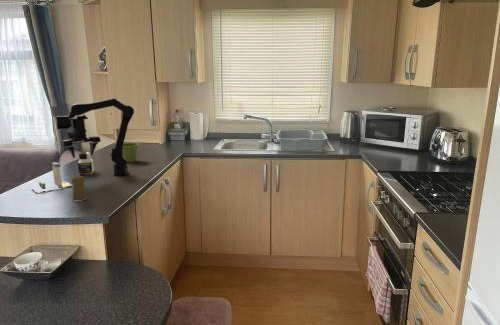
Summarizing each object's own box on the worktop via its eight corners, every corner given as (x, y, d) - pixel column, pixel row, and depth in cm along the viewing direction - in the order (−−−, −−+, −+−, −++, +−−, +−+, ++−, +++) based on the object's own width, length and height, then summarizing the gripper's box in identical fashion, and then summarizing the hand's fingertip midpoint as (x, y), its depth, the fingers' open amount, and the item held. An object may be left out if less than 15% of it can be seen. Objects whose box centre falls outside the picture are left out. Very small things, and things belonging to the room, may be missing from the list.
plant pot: (116, 162, 236) (115, 145, 233) (130, 158, 246) (128, 142, 244) (130, 164, 231) (128, 146, 228) (143, 160, 241) (142, 143, 238)
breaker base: (65, 182, 191) (65, 175, 190) (72, 186, 184) (71, 179, 183) (31, 189, 181) (30, 181, 180) (37, 193, 174) (35, 186, 173)
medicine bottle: (79, 174, 207) (76, 154, 204) (81, 171, 213) (78, 151, 211) (92, 174, 208) (90, 153, 206) (94, 170, 215) (92, 151, 212)
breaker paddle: (59, 183, 187) (56, 162, 184) (62, 185, 183) (59, 163, 181) (54, 184, 185) (51, 162, 183) (57, 186, 182) (54, 164, 179)
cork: (89, 197, 168) (87, 174, 165) (84, 202, 162) (81, 178, 159) (76, 197, 167) (73, 174, 165) (70, 202, 162) (67, 178, 159)
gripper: (90, 124, 204) (94, 152, 207) (55, 128, 191) (59, 157, 195) (99, 126, 196) (102, 155, 200) (62, 130, 183) (66, 161, 187)
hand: (83, 157), depth 195 cm, fingers open, 9 cm apart
